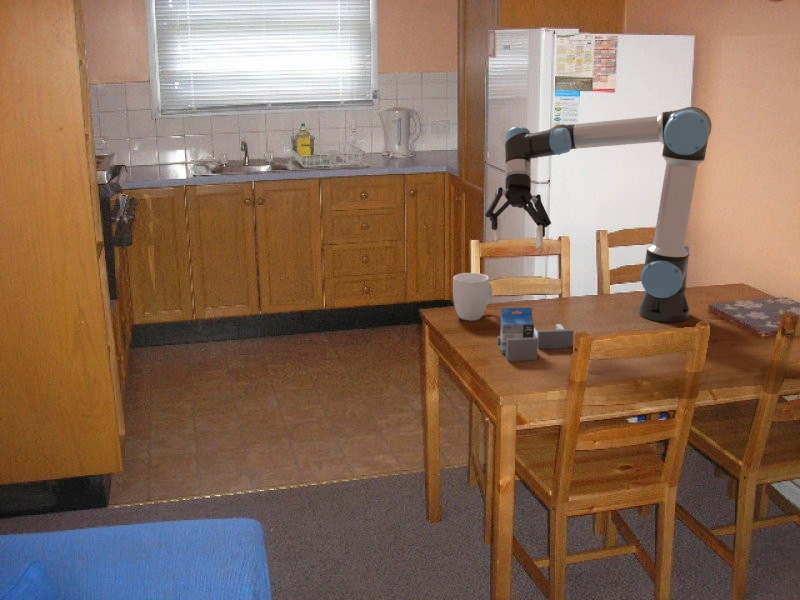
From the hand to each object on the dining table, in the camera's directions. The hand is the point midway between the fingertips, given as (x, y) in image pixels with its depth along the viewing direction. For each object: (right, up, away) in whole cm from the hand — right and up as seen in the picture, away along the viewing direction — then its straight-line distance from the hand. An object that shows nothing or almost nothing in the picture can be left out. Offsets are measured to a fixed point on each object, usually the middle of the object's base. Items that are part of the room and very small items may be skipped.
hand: (518, 244), depth 264 cm
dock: (+9, -28, -1) cm, 29 cm away
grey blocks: (-2, -31, -11) cm, 33 cm away
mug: (-12, -22, +19) cm, 31 cm away
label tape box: (-2, -31, -11) cm, 33 cm away
